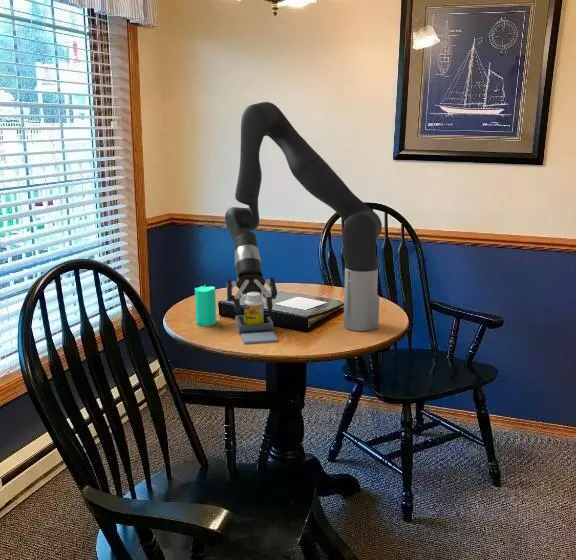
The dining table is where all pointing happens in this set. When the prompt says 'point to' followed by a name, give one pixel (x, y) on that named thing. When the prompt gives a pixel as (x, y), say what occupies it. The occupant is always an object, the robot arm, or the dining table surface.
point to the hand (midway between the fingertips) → (254, 312)
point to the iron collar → (253, 326)
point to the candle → (205, 306)
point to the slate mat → (259, 337)
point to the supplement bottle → (253, 309)
